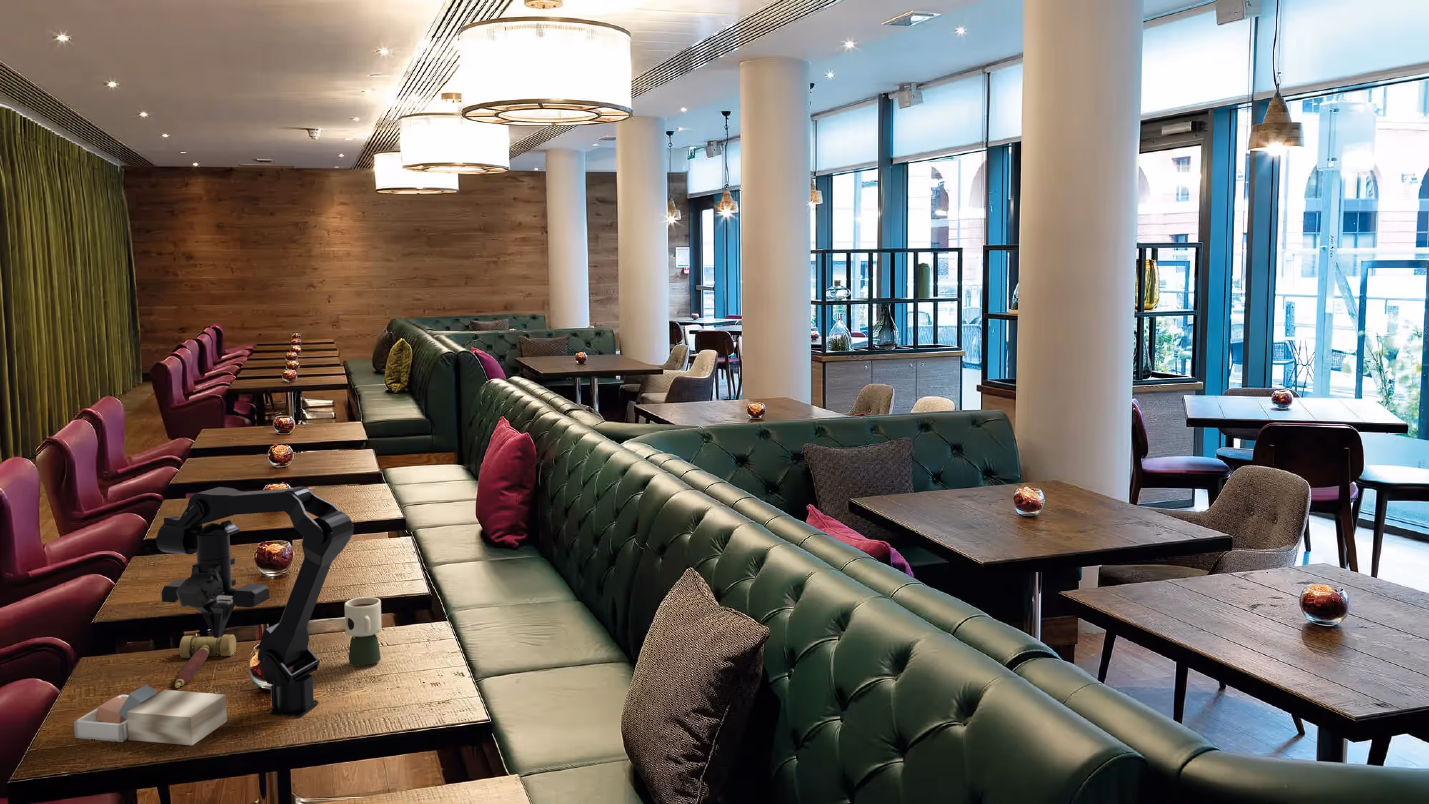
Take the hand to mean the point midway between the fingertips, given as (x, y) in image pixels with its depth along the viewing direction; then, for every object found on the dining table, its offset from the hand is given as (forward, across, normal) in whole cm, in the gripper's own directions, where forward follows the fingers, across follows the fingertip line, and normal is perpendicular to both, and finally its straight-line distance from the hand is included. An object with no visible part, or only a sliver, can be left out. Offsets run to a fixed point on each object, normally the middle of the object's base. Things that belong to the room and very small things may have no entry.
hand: (217, 637), depth 207 cm
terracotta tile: (+9, -11, -13) cm, 19 cm away
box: (+12, -10, -14) cm, 21 cm away
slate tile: (+8, -6, -14) cm, 17 cm away
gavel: (+13, -14, +13) cm, 23 cm away
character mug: (+12, +18, +22) cm, 31 cm away
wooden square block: (+12, +1, -14) cm, 18 cm away
